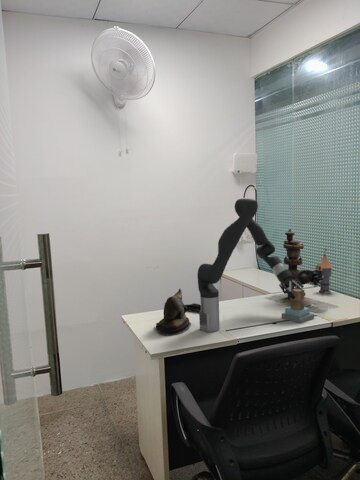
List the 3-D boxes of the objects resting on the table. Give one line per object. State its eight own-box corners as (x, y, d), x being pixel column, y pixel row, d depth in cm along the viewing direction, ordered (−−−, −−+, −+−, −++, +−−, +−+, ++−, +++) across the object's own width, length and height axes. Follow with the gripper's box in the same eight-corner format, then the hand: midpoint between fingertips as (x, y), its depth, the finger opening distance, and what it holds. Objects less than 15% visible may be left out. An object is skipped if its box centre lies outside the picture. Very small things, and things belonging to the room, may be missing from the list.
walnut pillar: (298, 309, 202) (298, 291, 201) (290, 307, 206) (290, 289, 205) (304, 308, 205) (304, 289, 204) (296, 306, 209) (296, 288, 208)
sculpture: (173, 318, 212) (176, 285, 207) (199, 330, 201) (203, 295, 196) (144, 331, 195) (147, 294, 190) (170, 345, 184) (174, 307, 179)
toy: (167, 312, 231) (212, 315, 216) (166, 303, 230) (211, 305, 215) (174, 309, 238) (218, 311, 223) (173, 300, 237) (217, 301, 222)
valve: (341, 307, 223) (342, 230, 219) (318, 313, 212) (319, 232, 208) (285, 293, 258) (286, 227, 254) (263, 298, 248) (263, 228, 243)
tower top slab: (299, 317, 199) (299, 311, 199) (285, 313, 207) (285, 308, 206) (309, 313, 205) (309, 308, 204) (295, 310, 212) (295, 304, 212)
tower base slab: (300, 324, 197) (300, 318, 197) (281, 318, 207) (281, 313, 207) (314, 319, 204) (314, 313, 204) (295, 314, 214) (295, 309, 214)
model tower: (312, 291, 258) (312, 247, 255) (326, 289, 261) (326, 246, 258) (321, 295, 249) (322, 249, 246) (336, 293, 252) (336, 248, 249)
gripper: (277, 270, 205) (295, 295, 197) (294, 267, 213) (311, 290, 205) (269, 279, 210) (286, 303, 202) (286, 275, 218) (303, 298, 210)
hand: (299, 297), depth 203 cm, fingers open, 8 cm apart
